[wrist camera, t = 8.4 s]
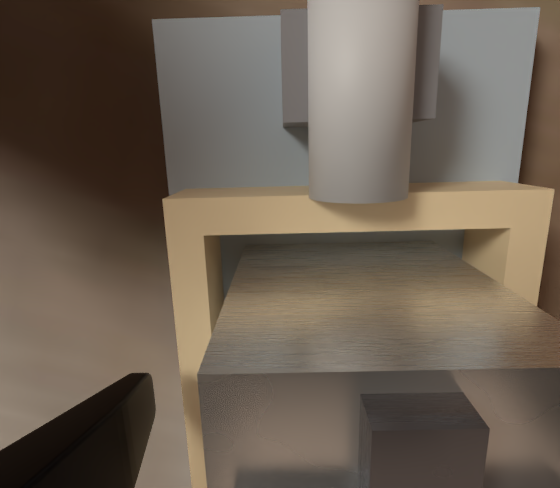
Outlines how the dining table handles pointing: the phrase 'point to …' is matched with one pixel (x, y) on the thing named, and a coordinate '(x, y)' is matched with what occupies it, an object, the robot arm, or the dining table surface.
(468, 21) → the shaft bench
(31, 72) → the dining table surface
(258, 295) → the block
